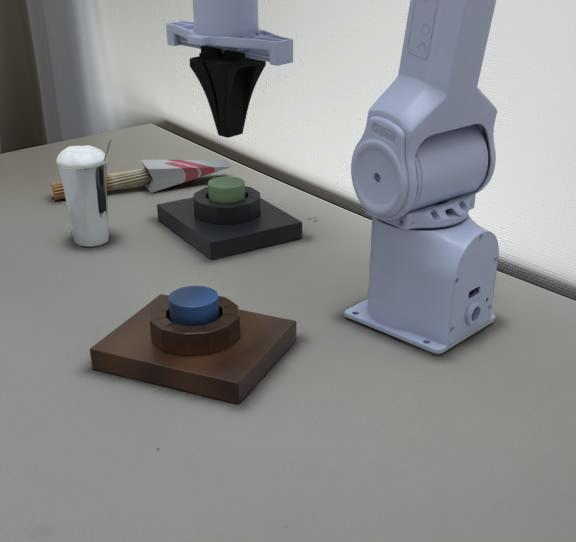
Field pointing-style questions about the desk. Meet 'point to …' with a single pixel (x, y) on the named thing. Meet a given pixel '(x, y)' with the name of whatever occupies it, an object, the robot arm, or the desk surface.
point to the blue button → (194, 306)
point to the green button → (226, 189)
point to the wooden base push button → (196, 350)
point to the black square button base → (228, 223)
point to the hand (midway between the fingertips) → (230, 134)
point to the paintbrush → (157, 174)
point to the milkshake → (85, 192)
